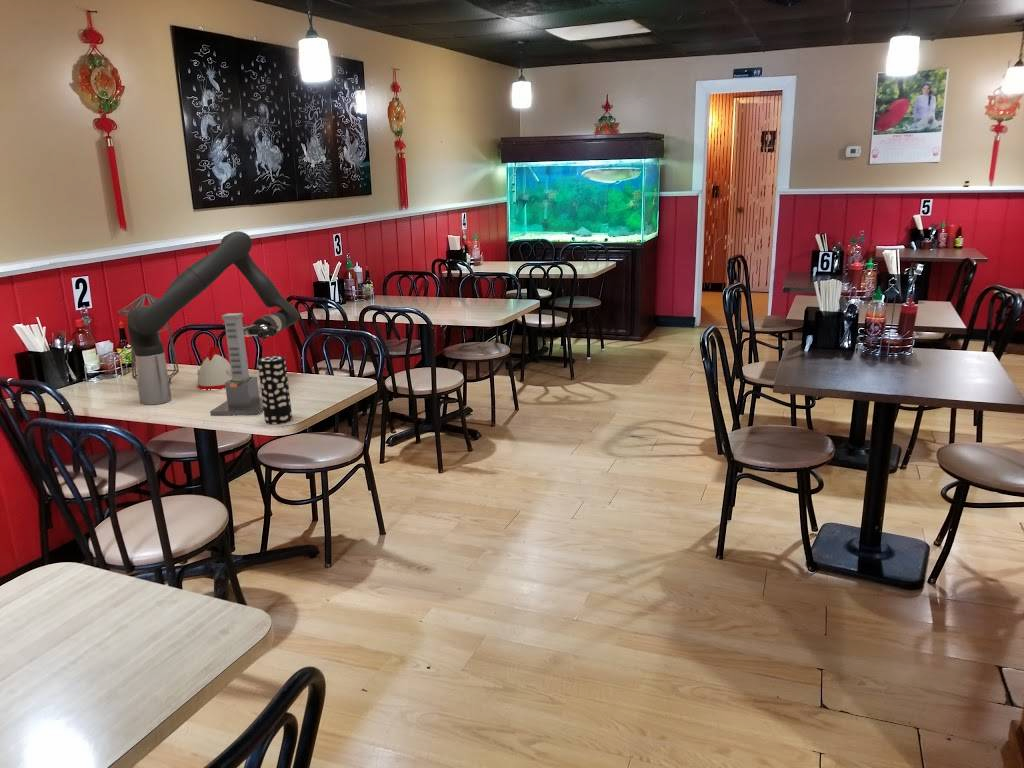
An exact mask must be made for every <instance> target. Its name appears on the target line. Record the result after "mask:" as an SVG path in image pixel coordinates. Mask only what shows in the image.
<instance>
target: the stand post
mask: <svg viewBox="0 0 1024 768" xmlns="http://www.w3.org/2000/svg"><path fill="white" fill-rule="evenodd" d="M243 318H244V313H243V312H238V313H237V312H235V313H231V312H230V313H226V314H223V315H221V320H223V321H224V327H225V329H224V330H225V335H226V343H227V349H228V357H229V363H230V366H231V373H232V380H233V382H246V381H248V380H249V379H250V378H249V377H250V374H249V373H250V372H249V371H250V370H249V364H248V355H247V349H246V348H247V347H246V342H245V341H246V340H245V336H244V332H243V326H244V324H243Z"/></svg>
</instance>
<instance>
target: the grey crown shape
mask: <svg viewBox="0 0 1024 768" xmlns="http://www.w3.org/2000/svg"><path fill="white" fill-rule="evenodd" d="M208 353H209V354H207V357H206V358H205V359H204V360H203V362H202V364H201V365H200V368H199V369H197V372H196V373H197V388H198V389H199V388H200V389H199V390H201V389H206V390H205V391H212V390H211V389H220V390H223V389H222V388H226V387H225V382H227V381H229V380H230V379H232V373H231V366H230V361H229V360H227V359H226V358H225V357H223V356H221V355H220V347H219V346H218V345H212V346H210V350H208ZM208 389H210V390H208Z"/></svg>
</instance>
